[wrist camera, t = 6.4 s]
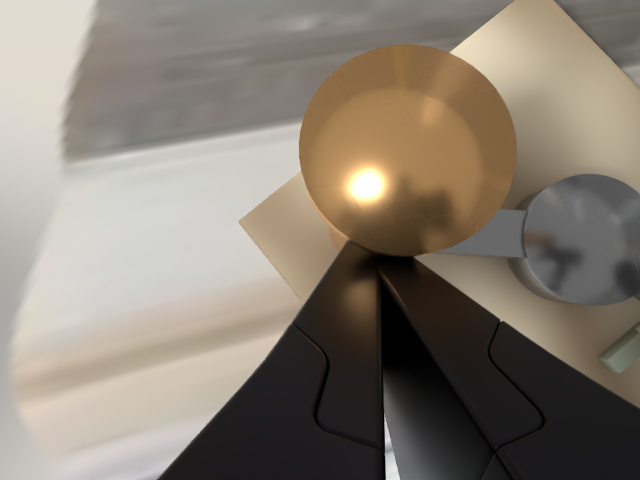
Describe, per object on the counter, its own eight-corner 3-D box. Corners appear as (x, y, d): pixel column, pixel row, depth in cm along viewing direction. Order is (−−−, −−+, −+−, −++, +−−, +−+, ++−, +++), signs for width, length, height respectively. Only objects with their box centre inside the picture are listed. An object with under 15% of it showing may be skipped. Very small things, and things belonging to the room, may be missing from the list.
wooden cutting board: (520, 573, 15) (543, 608, 14) (243, 225, 17) (233, 218, 16) (821, 308, 16) (879, 311, 14) (525, -1, 18) (545, -31, 16)
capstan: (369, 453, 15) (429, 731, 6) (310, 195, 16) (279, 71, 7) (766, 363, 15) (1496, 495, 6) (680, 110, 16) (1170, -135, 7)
